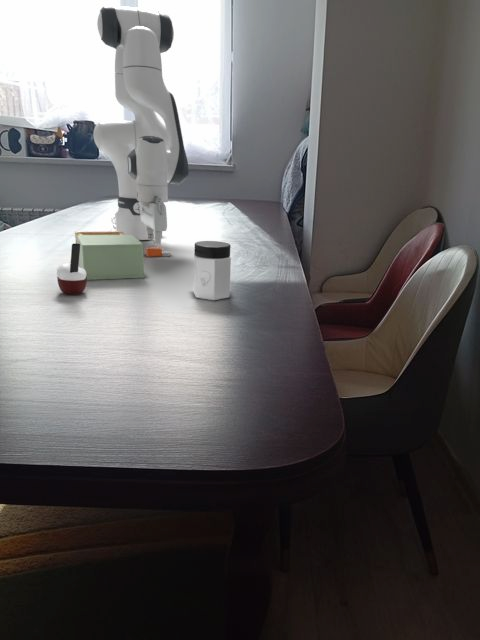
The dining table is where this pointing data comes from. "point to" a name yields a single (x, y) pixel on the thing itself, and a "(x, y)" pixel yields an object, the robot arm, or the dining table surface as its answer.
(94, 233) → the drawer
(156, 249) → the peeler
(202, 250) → the jar
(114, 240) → the pale green box
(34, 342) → the dining table surface
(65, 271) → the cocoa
